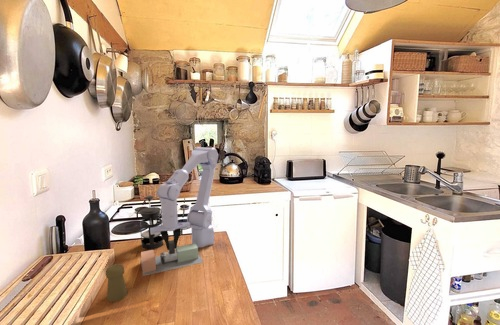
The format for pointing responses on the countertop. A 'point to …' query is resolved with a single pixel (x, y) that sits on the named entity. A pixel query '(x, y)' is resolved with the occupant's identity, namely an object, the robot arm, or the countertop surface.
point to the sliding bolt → (169, 253)
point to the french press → (150, 216)
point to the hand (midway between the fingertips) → (171, 248)
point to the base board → (171, 265)
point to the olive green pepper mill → (115, 283)
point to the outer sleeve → (187, 252)
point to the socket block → (148, 261)
